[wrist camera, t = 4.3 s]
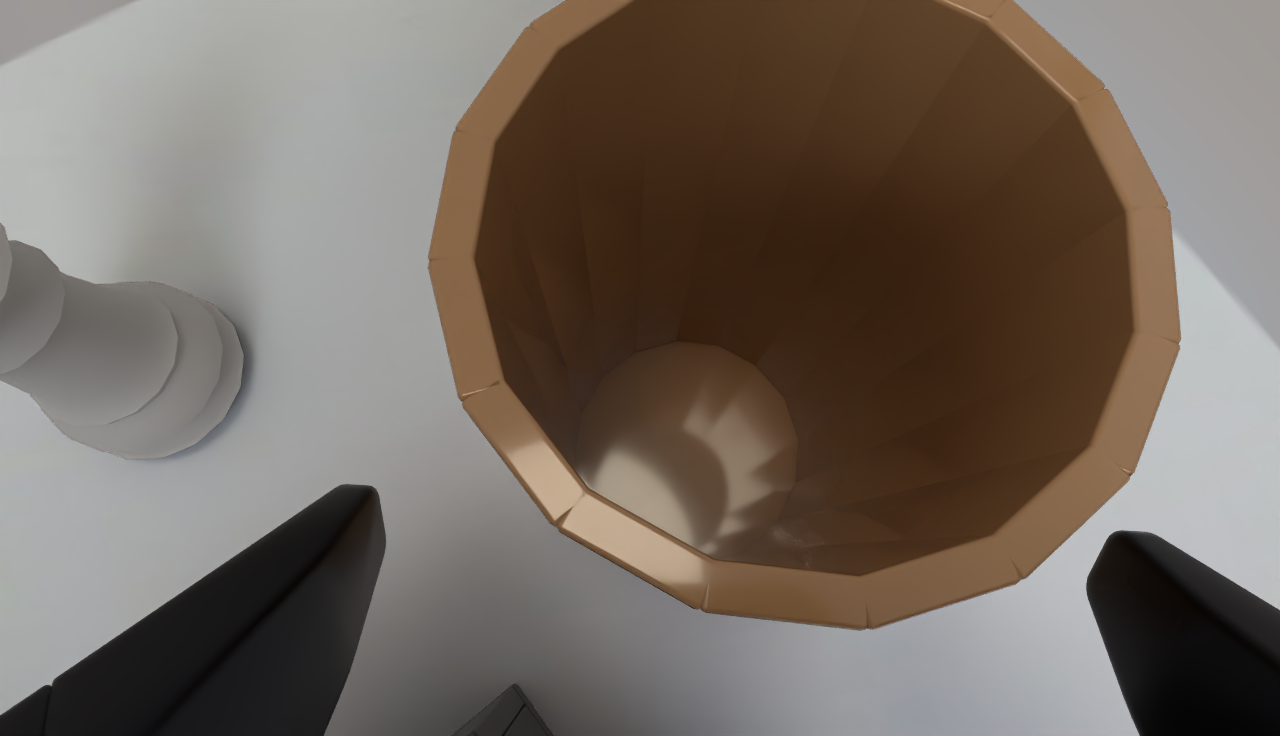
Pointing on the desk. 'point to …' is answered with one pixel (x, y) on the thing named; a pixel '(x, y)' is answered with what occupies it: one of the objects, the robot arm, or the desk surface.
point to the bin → (506, 718)
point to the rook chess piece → (115, 356)
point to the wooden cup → (806, 295)
